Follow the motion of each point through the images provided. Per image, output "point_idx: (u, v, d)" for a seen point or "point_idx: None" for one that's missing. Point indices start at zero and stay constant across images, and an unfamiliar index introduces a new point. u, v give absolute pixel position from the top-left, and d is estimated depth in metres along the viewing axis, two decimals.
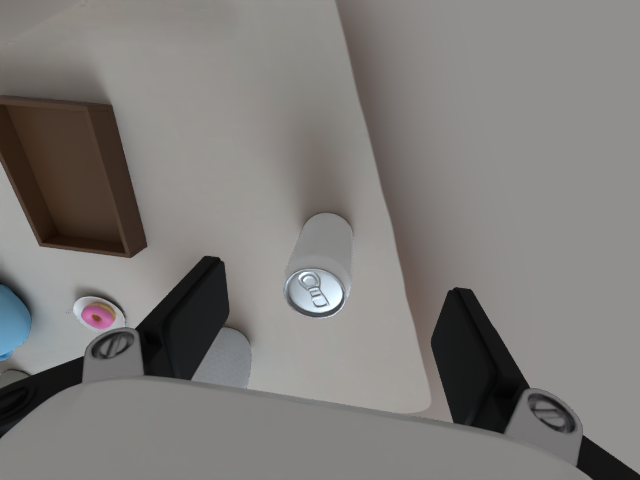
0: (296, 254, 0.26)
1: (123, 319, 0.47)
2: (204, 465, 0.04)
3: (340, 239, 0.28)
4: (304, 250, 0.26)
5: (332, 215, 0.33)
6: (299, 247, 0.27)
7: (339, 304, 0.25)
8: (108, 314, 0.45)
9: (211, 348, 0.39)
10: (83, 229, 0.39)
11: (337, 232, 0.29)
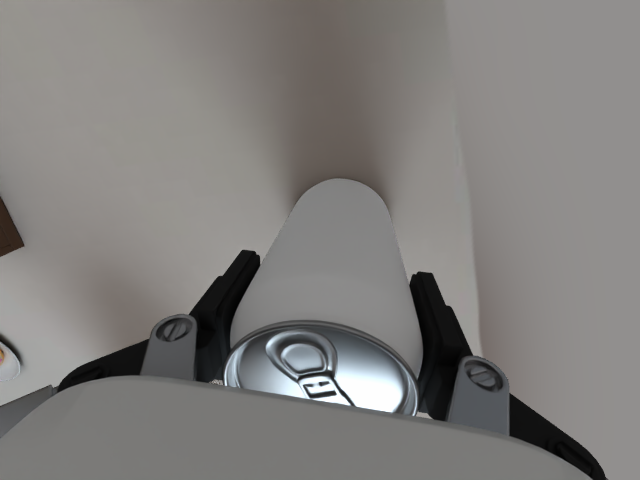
0: (266, 268, 0.09)
1: (16, 360, 0.30)
2: (205, 464, 0.04)
3: (379, 229, 0.12)
4: (288, 257, 0.09)
5: (351, 182, 0.16)
6: (277, 248, 0.10)
7: None
8: None
9: None
10: None
11: (369, 214, 0.12)
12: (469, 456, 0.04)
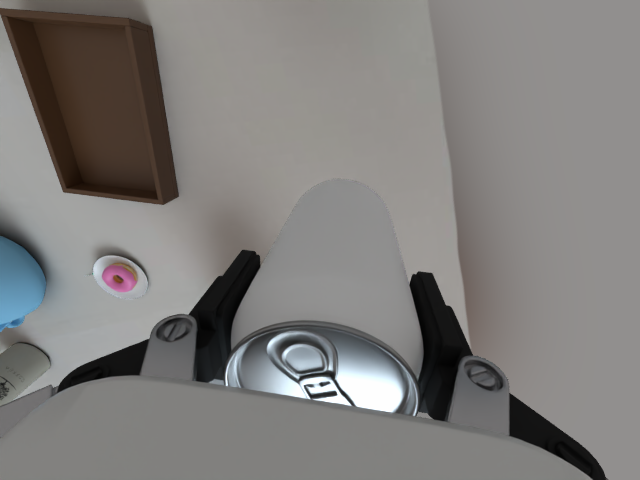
0: (266, 269, 0.09)
1: (146, 282, 0.44)
2: (205, 465, 0.04)
3: (380, 229, 0.12)
4: (288, 257, 0.09)
5: (352, 183, 0.16)
6: (277, 249, 0.10)
7: None
8: (131, 275, 0.42)
9: None
10: (110, 176, 0.36)
11: (370, 214, 0.13)
12: (469, 456, 0.04)
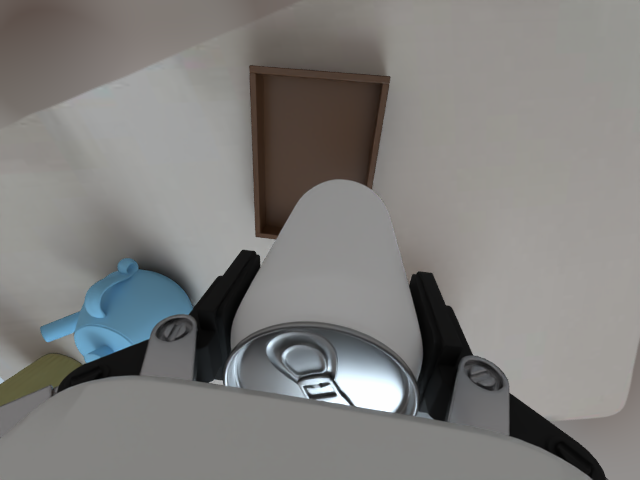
0: (266, 270, 0.09)
1: None
2: (205, 465, 0.04)
3: (379, 230, 0.12)
4: (288, 258, 0.09)
5: (351, 183, 0.16)
6: (277, 250, 0.10)
7: None
8: None
9: None
10: None
11: (369, 215, 0.13)
12: (469, 456, 0.04)
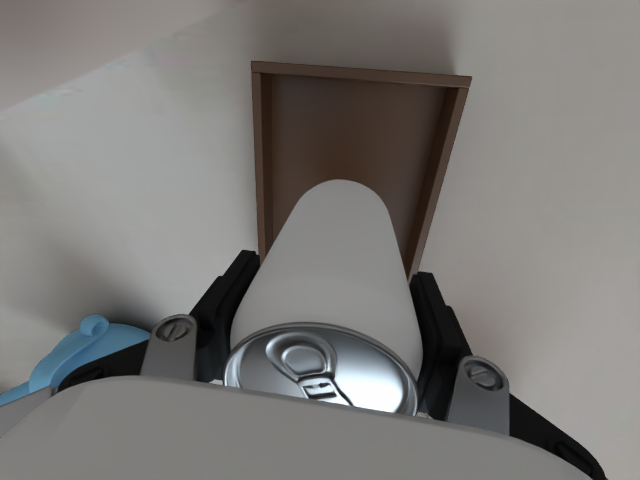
0: (266, 270, 0.09)
1: None
2: (204, 465, 0.04)
3: (379, 230, 0.12)
4: (287, 258, 0.09)
5: (351, 183, 0.16)
6: (277, 250, 0.10)
7: None
8: None
9: None
10: None
11: (369, 215, 0.13)
12: (469, 456, 0.04)
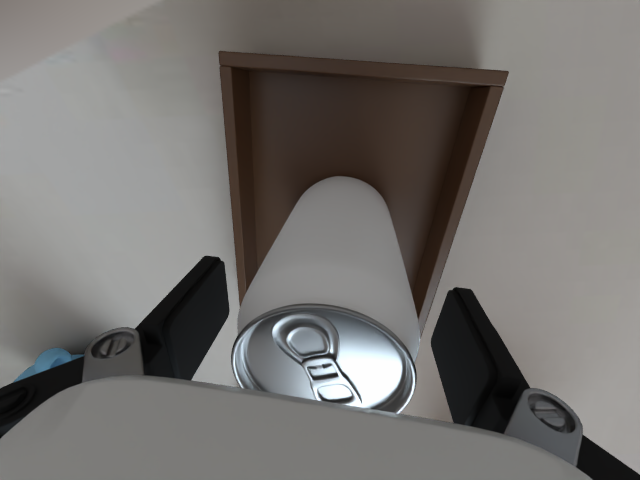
0: (271, 259, 0.10)
1: None
2: (204, 464, 0.04)
3: (378, 223, 0.12)
4: (292, 248, 0.10)
5: (352, 179, 0.17)
6: (281, 241, 0.11)
7: (390, 400, 0.09)
8: None
9: None
10: None
11: (369, 209, 0.13)
12: (469, 456, 0.04)
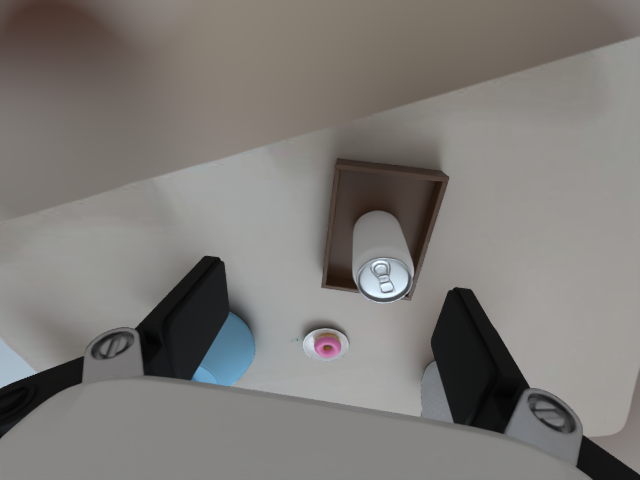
0: (365, 246, 0.30)
1: (346, 348, 0.50)
2: (205, 464, 0.04)
3: (399, 234, 0.32)
4: (373, 242, 0.29)
5: (384, 212, 0.36)
6: (365, 240, 0.31)
7: (404, 290, 0.29)
8: (340, 345, 0.49)
9: None
10: None
11: (394, 228, 0.33)
12: (469, 456, 0.04)
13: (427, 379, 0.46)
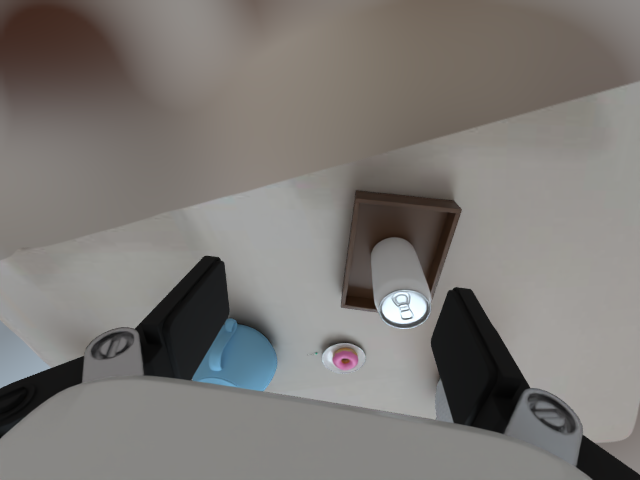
0: (385, 276, 0.32)
1: (363, 361, 0.53)
2: (205, 464, 0.04)
3: (416, 263, 0.34)
4: (393, 273, 0.32)
5: (400, 239, 0.39)
6: (385, 270, 0.33)
7: (422, 317, 0.31)
8: (357, 358, 0.51)
9: None
10: (372, 291, 0.45)
11: (411, 256, 0.35)
12: (469, 456, 0.04)
13: (441, 390, 0.49)
